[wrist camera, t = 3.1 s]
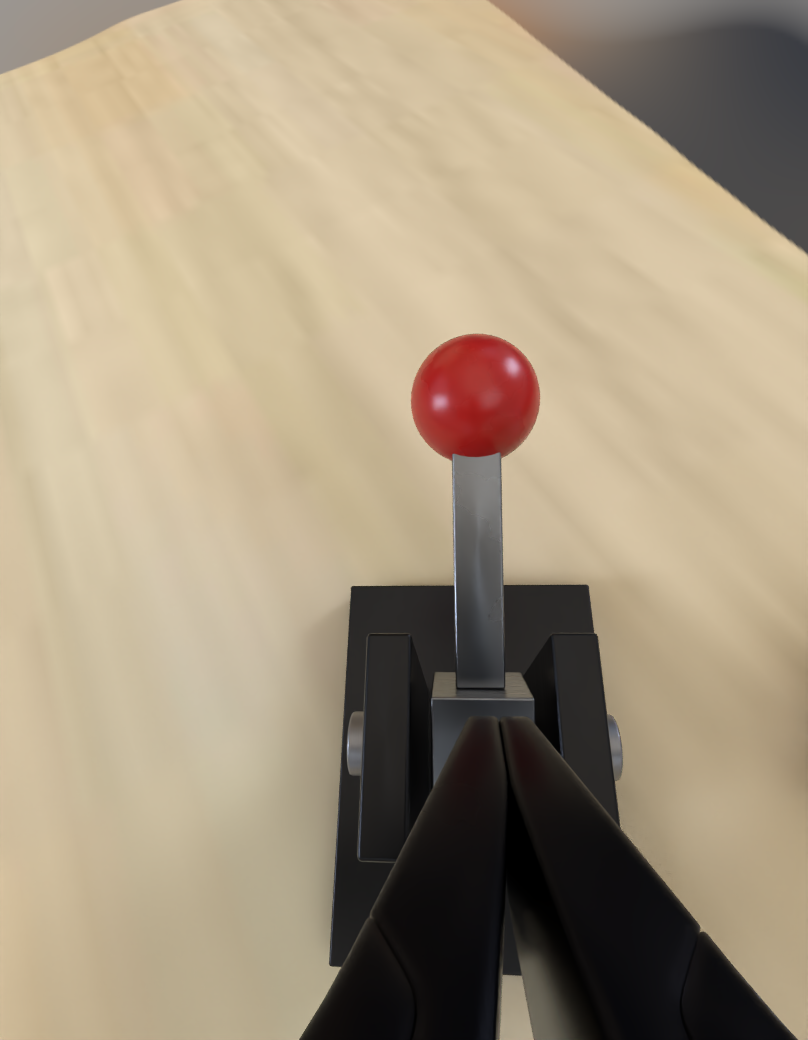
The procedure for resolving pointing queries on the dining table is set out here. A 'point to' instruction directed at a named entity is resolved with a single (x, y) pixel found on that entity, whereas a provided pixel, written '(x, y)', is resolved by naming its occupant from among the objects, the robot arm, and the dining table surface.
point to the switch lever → (475, 519)
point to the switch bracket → (407, 723)
